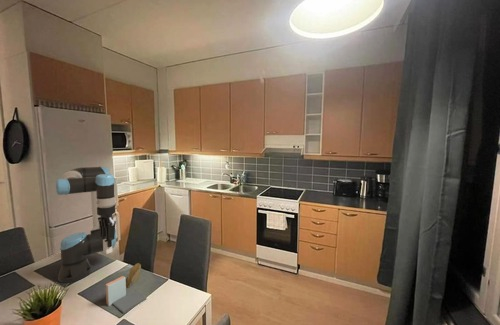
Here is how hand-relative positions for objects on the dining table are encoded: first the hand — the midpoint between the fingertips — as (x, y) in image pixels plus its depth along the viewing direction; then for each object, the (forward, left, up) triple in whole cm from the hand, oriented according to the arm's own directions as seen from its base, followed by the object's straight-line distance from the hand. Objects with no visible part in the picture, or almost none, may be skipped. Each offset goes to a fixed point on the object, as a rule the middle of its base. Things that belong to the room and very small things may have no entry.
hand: (107, 252), depth 108 cm
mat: (+14, +3, -22) cm, 26 cm away
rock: (-1, +12, -23) cm, 26 cm away
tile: (+7, 0, -22) cm, 24 cm away
